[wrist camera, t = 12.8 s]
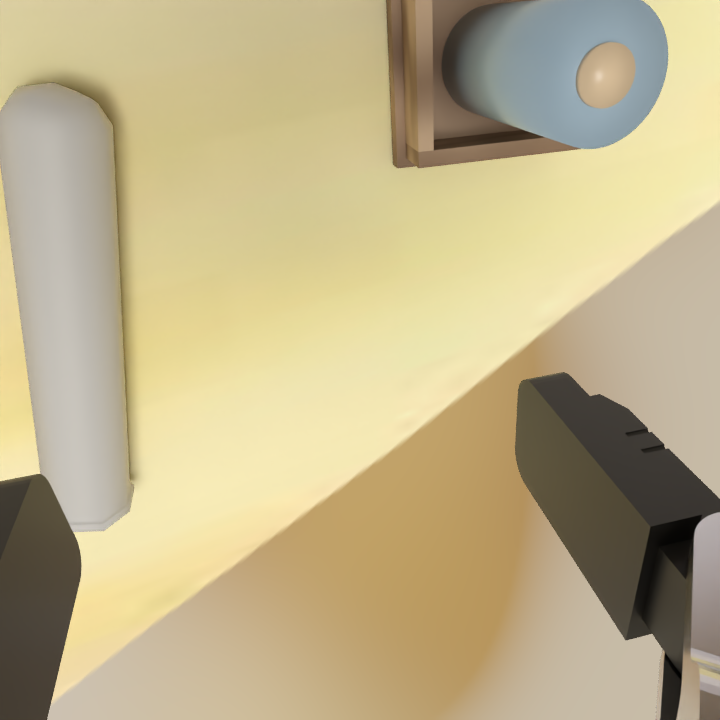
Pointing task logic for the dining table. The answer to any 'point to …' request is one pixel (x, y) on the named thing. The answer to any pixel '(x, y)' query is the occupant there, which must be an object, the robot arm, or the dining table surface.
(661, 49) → the roll
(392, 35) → the holder
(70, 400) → the tube
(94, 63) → the dining table surface
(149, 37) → the dining table surface
